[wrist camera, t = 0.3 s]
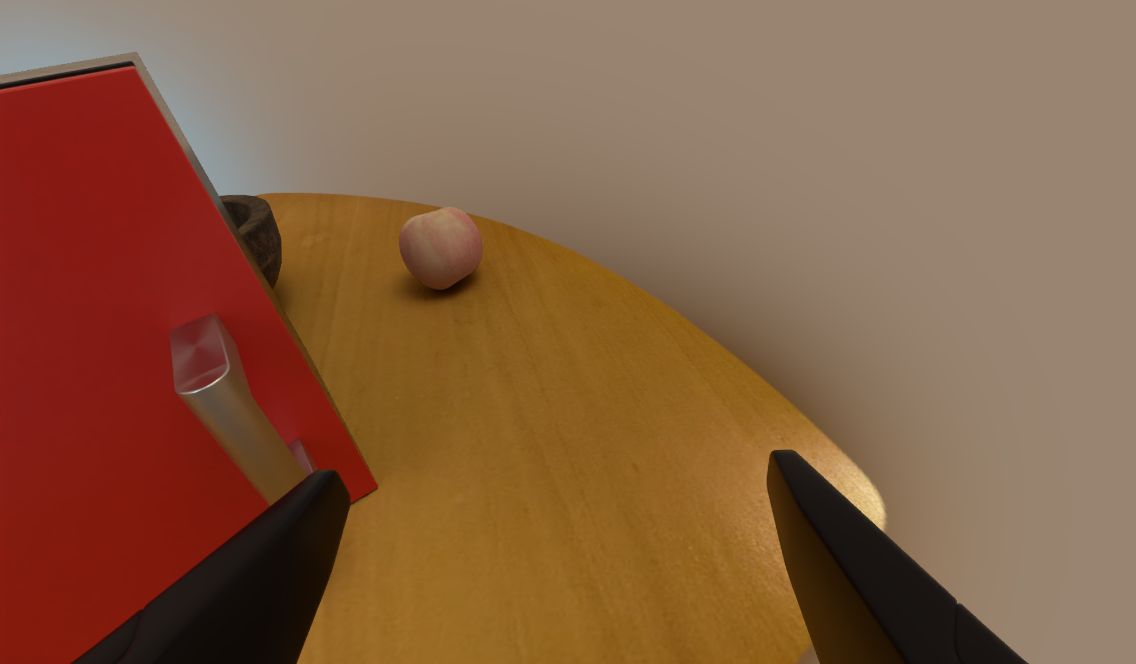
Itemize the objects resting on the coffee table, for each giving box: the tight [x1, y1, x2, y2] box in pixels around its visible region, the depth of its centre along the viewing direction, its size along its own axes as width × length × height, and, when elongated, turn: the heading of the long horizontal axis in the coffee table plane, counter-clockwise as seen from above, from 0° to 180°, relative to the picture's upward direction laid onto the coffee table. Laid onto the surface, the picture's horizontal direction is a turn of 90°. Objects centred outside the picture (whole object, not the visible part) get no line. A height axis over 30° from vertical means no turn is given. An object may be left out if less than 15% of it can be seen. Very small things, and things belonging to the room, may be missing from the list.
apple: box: [399, 207, 482, 290], centre depth 49 cm, size 8×8×8 cm
